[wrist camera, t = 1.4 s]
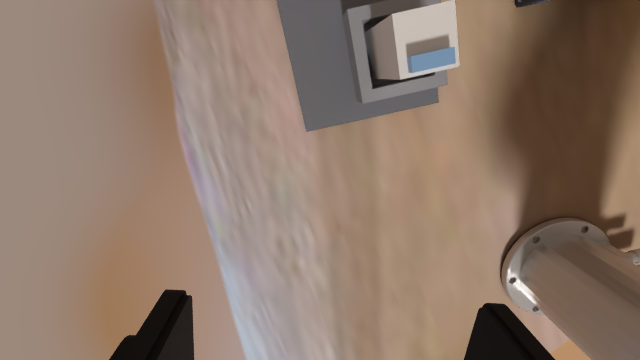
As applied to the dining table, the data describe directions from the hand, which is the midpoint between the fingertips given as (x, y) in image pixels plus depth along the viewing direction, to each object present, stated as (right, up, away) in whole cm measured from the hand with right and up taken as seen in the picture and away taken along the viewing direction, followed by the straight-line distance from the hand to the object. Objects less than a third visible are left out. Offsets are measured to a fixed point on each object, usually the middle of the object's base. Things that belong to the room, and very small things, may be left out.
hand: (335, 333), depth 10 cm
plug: (+6, +17, +19) cm, 26 cm away
